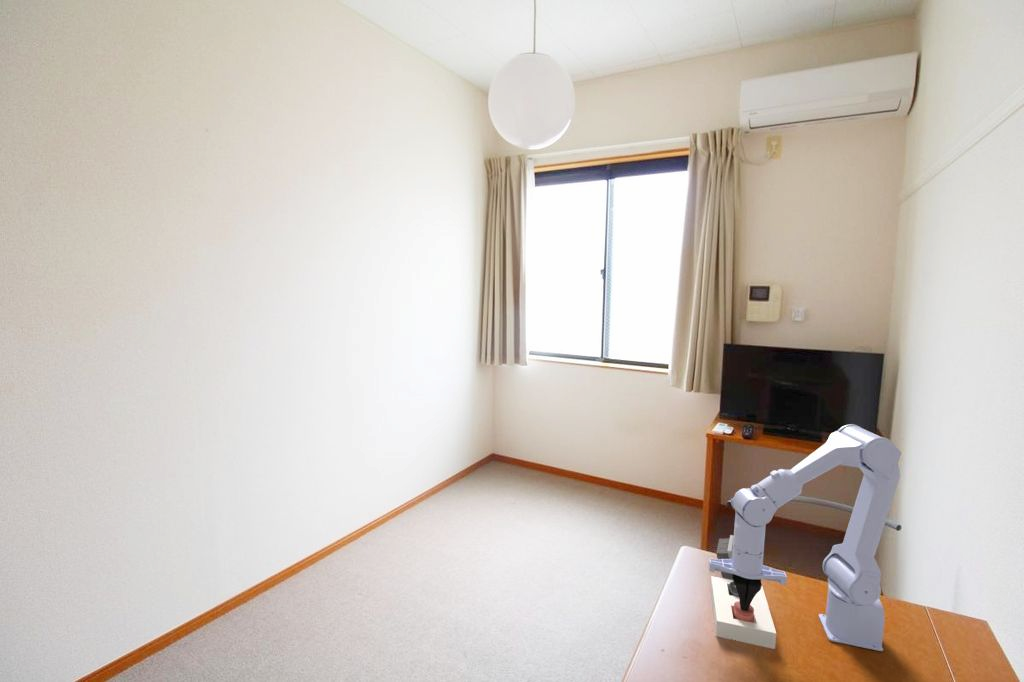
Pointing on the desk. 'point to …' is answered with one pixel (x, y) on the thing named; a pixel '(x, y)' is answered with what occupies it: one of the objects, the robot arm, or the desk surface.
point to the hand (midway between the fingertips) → (743, 607)
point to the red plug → (743, 613)
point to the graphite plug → (733, 590)
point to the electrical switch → (725, 553)
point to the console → (739, 630)
